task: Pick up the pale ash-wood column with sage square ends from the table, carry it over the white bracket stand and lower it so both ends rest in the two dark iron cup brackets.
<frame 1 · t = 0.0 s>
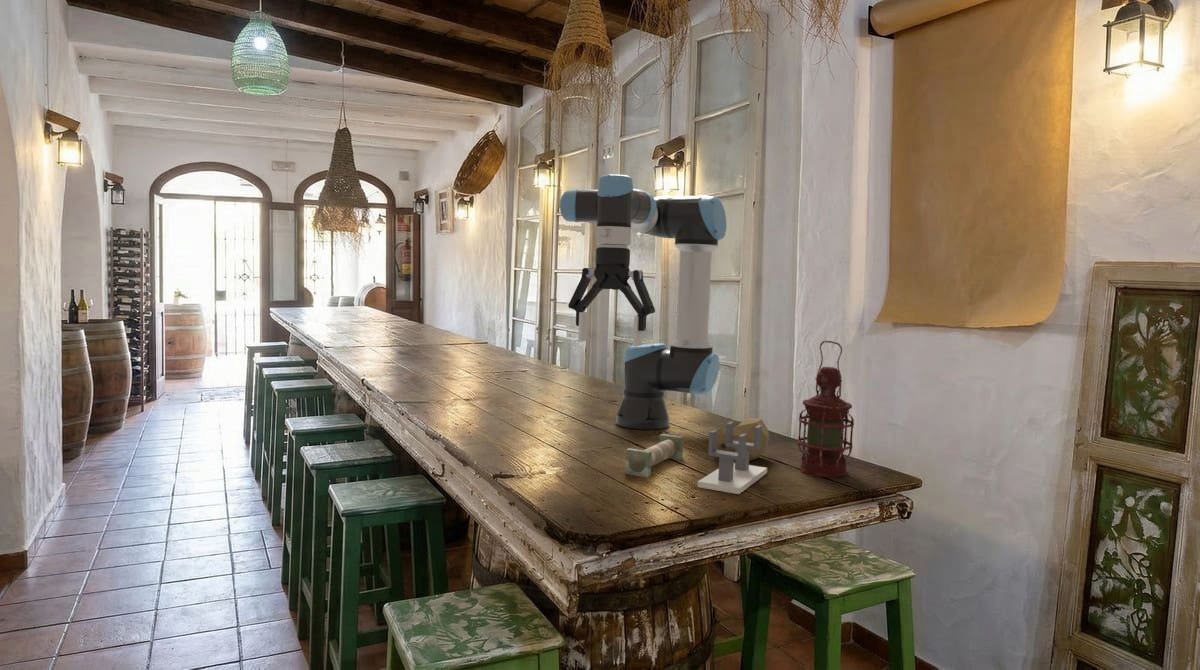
hand: (609, 343, 177), 28 cm above the table, fingers open, 13 cm apart
column: (655, 466, 183), on the table
low-poly potato: (739, 458, 193), on the table
bracket: (733, 479, 173), on the table
lantern: (822, 472, 183), on the table
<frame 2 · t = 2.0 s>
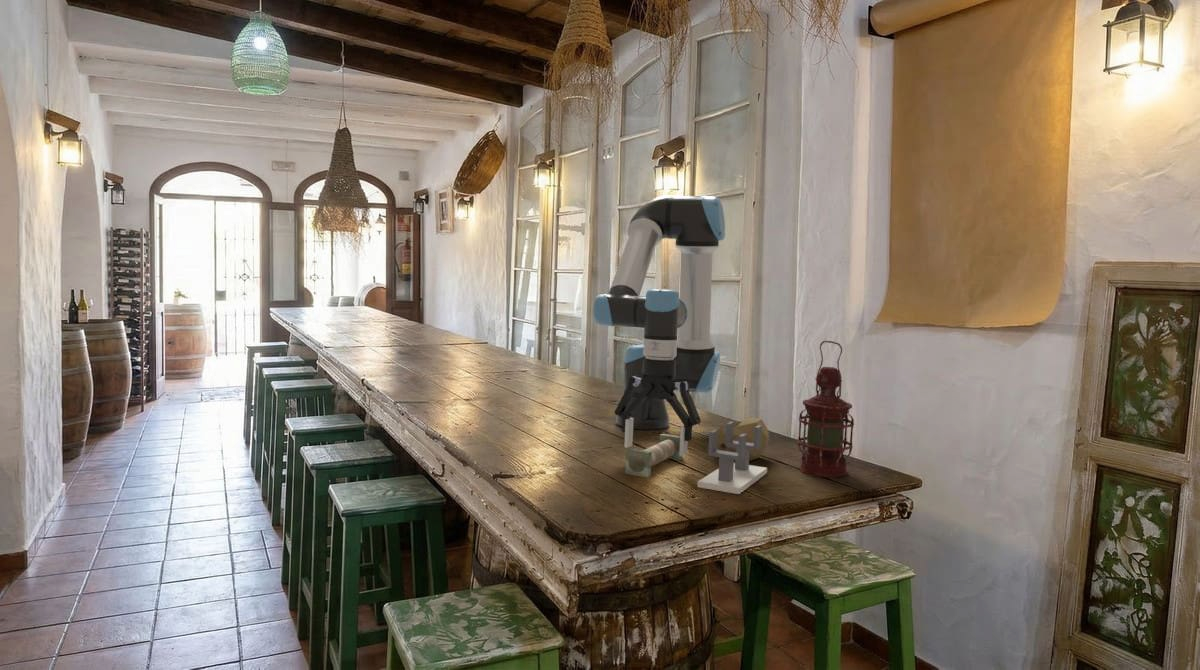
hand: (655, 450, 182), 4 cm above the table, fingers open, 13 cm apart
nothing on the table moved.
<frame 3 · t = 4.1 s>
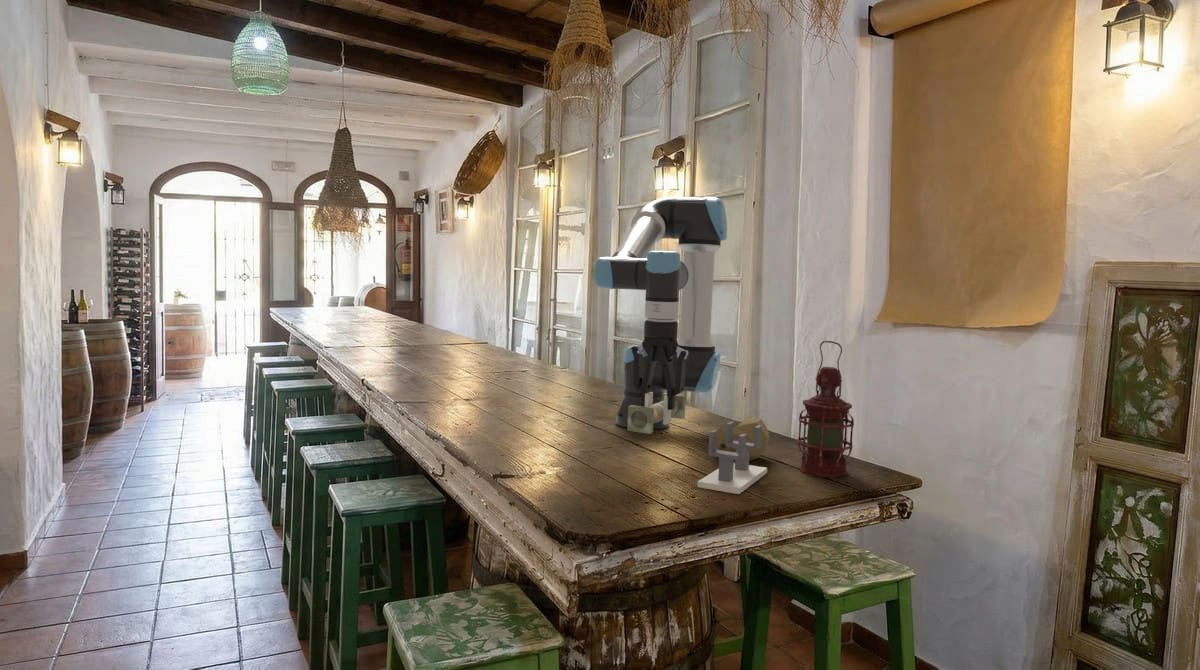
hand: (657, 421, 182), 10 cm above the table, fingers closed on column, 4 cm apart
column: (657, 423, 182), point 10 cm above the table, touching gripper
everything else where it was.
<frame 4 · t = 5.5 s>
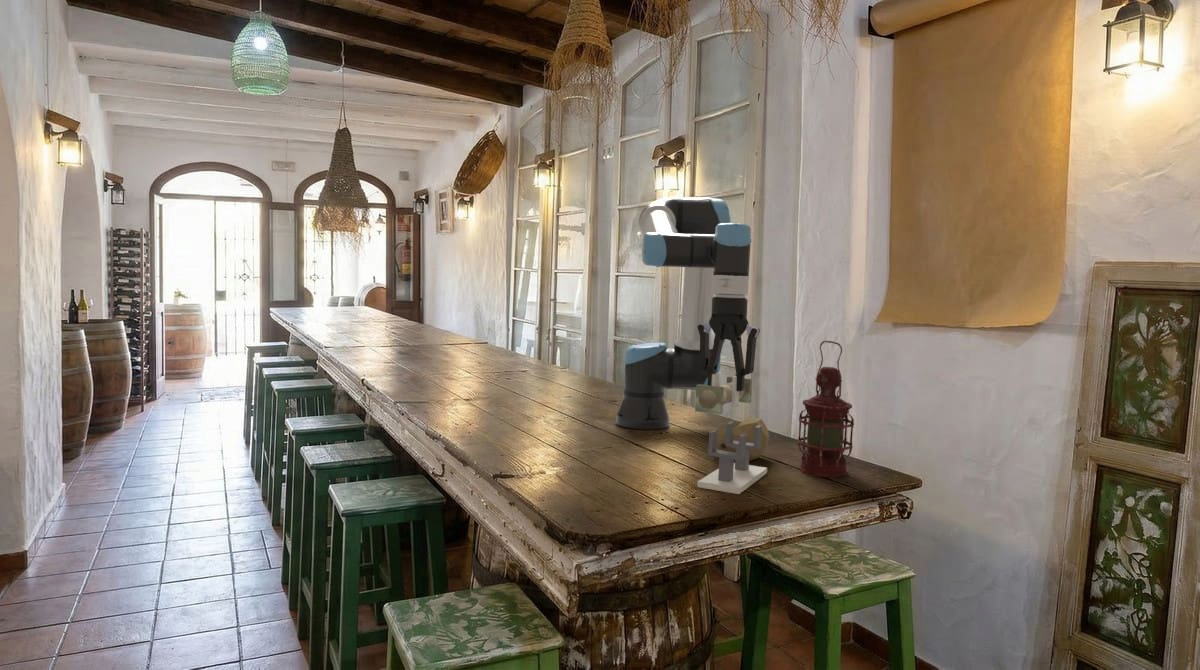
hand: (724, 404, 172), 16 cm above the table, fingers closed on column, 4 cm apart
column: (724, 406, 172), point 16 cm above the table, touching gripper
everything else where it was.
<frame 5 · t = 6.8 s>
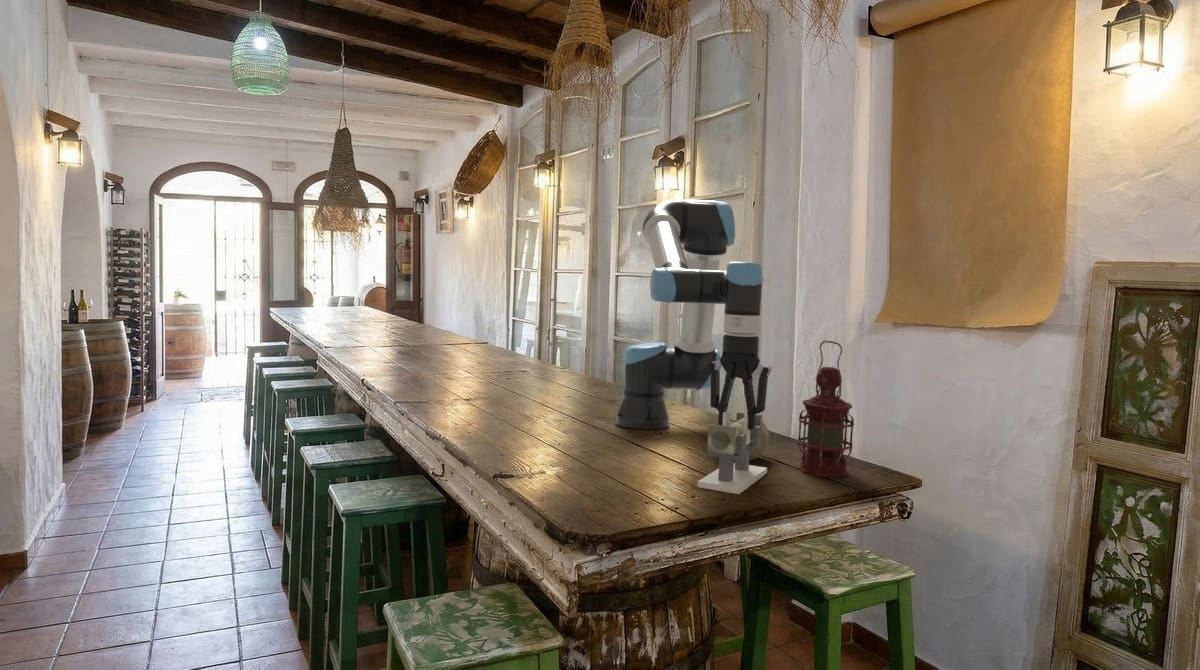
hand: (735, 442, 172), 8 cm above the table, fingers closed on column, 4 cm apart
column: (735, 444, 172), point 8 cm above the table, touching gripper
everything else where it was.
when the fingers open (7 cm above the table, at t = 7.3 s): column stays where it is, resting on bracket.
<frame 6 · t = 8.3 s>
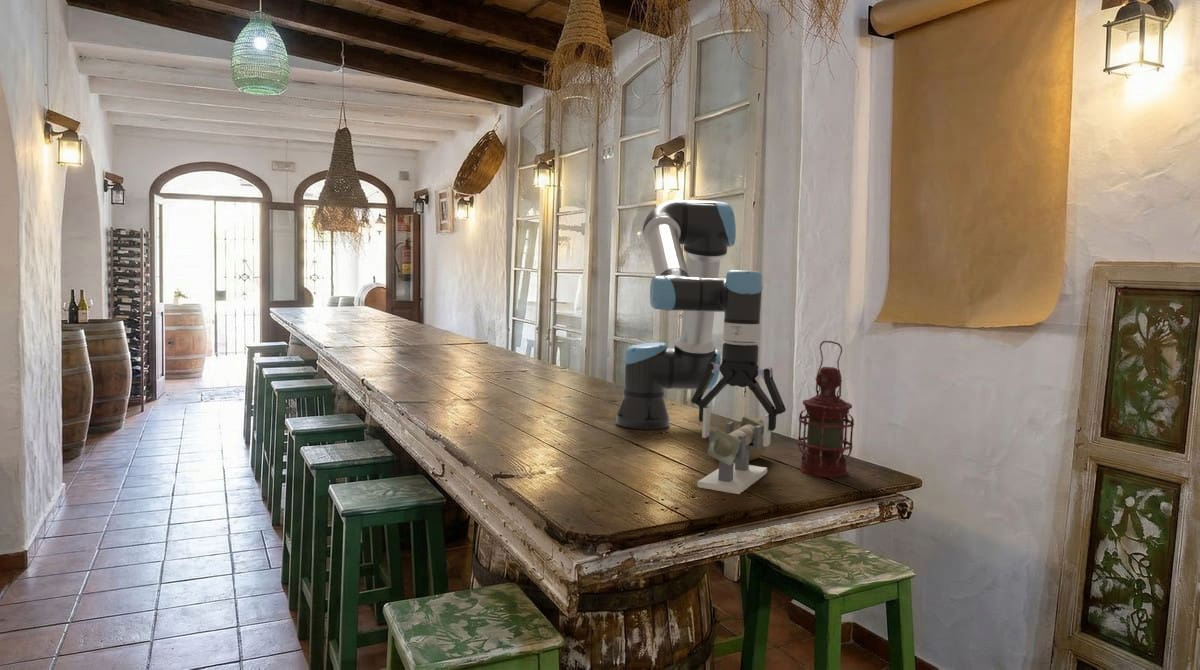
hand: (735, 441, 172), 9 cm above the table, fingers open, 13 cm apart
column: (734, 450, 172), point 6 cm above the table, tilted 17°, touching bracket
everything else where it was.
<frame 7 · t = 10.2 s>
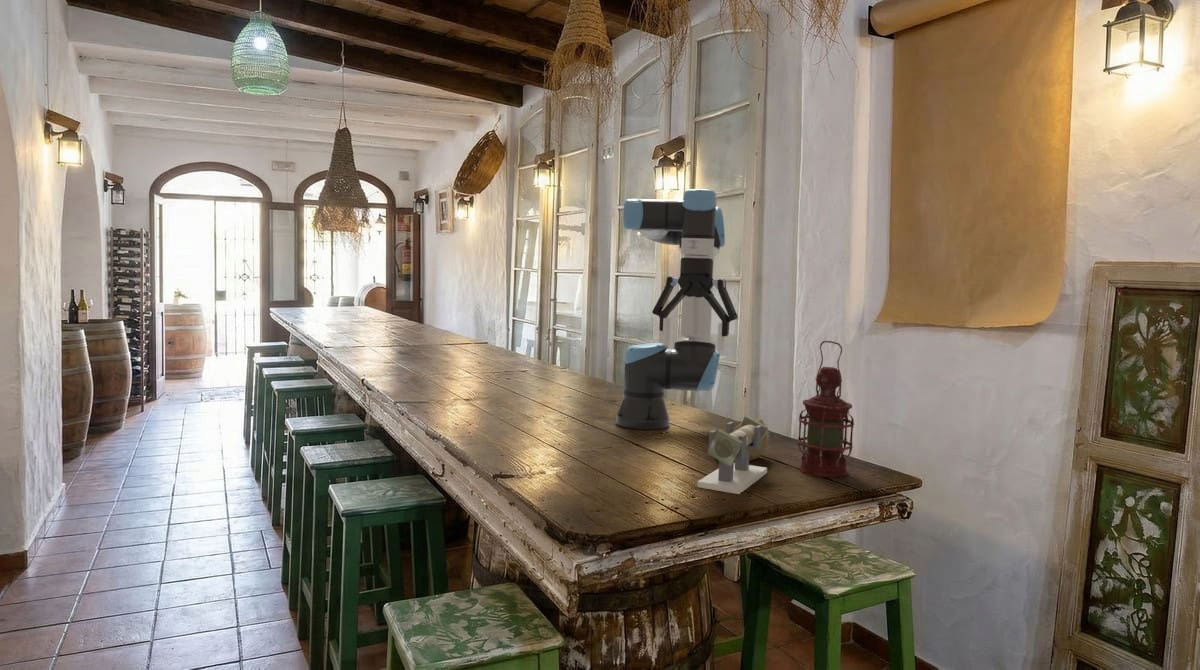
hand: (692, 347, 188), 27 cm above the table, fingers open, 13 cm apart
nothing on the table moved.
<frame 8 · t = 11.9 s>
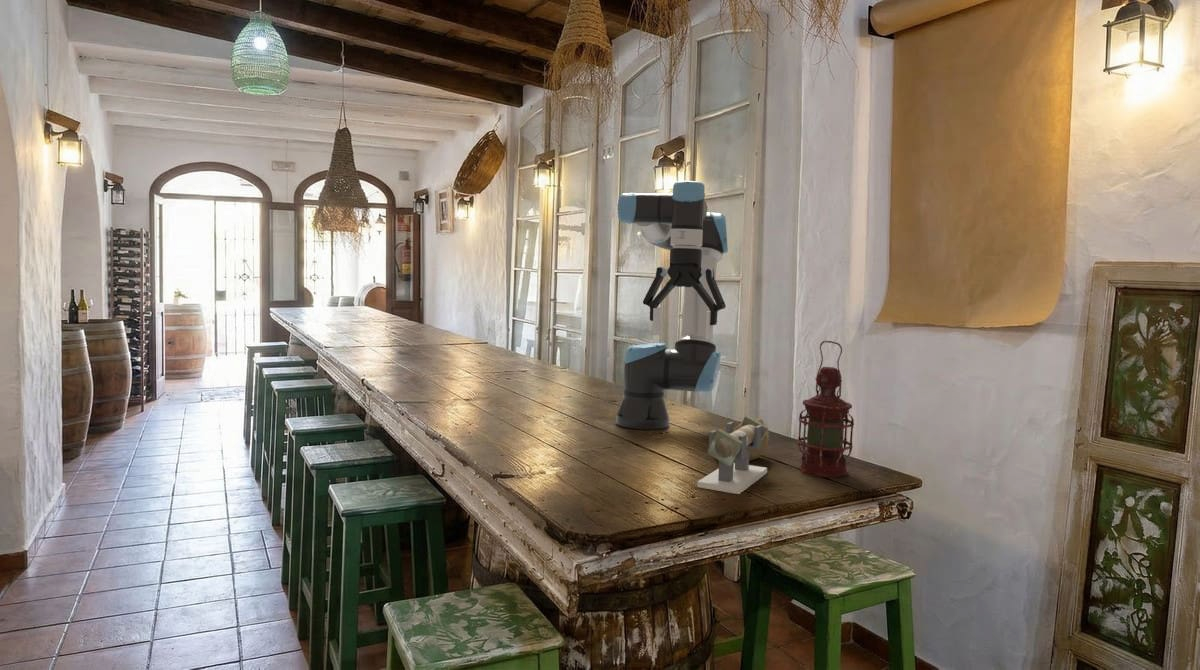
hand: (682, 336, 191), 29 cm above the table, fingers open, 13 cm apart
nothing on the table moved.
at the end: column 0.3 cm off-centre on the bracket, point 6.5 cm above the bracket's base; the gripper is holding nothing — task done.
